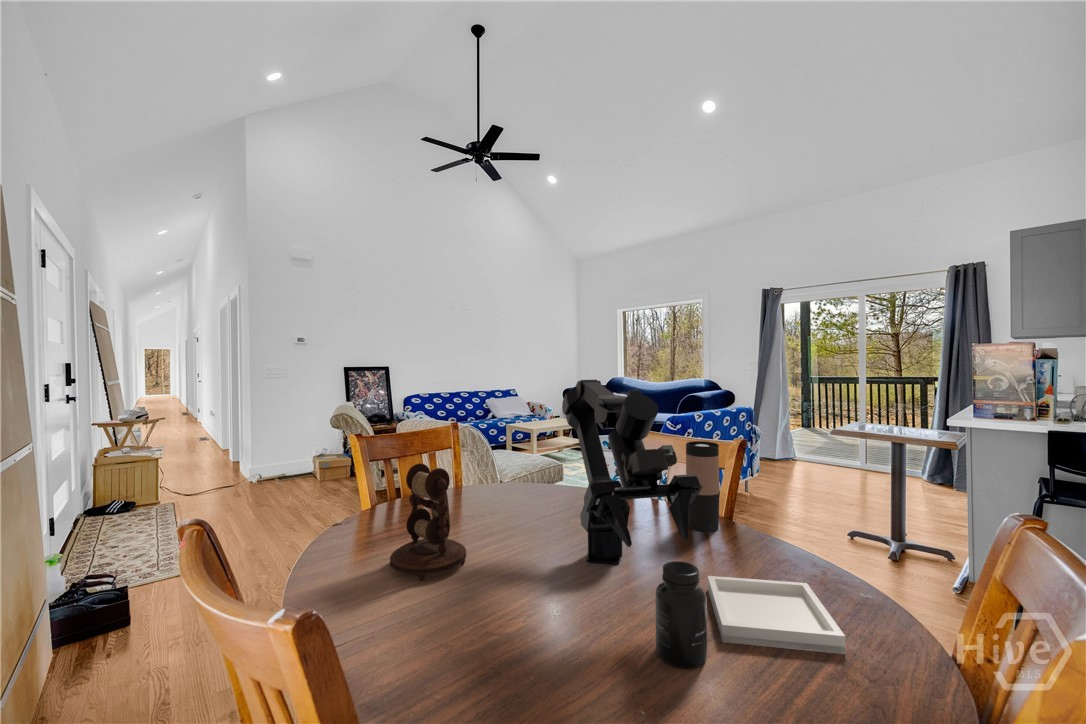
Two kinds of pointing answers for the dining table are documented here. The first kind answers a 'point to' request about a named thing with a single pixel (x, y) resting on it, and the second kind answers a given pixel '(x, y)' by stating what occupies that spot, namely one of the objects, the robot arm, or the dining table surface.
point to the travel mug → (704, 485)
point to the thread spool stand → (428, 527)
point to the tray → (773, 615)
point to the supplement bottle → (681, 616)
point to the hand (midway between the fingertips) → (658, 543)
